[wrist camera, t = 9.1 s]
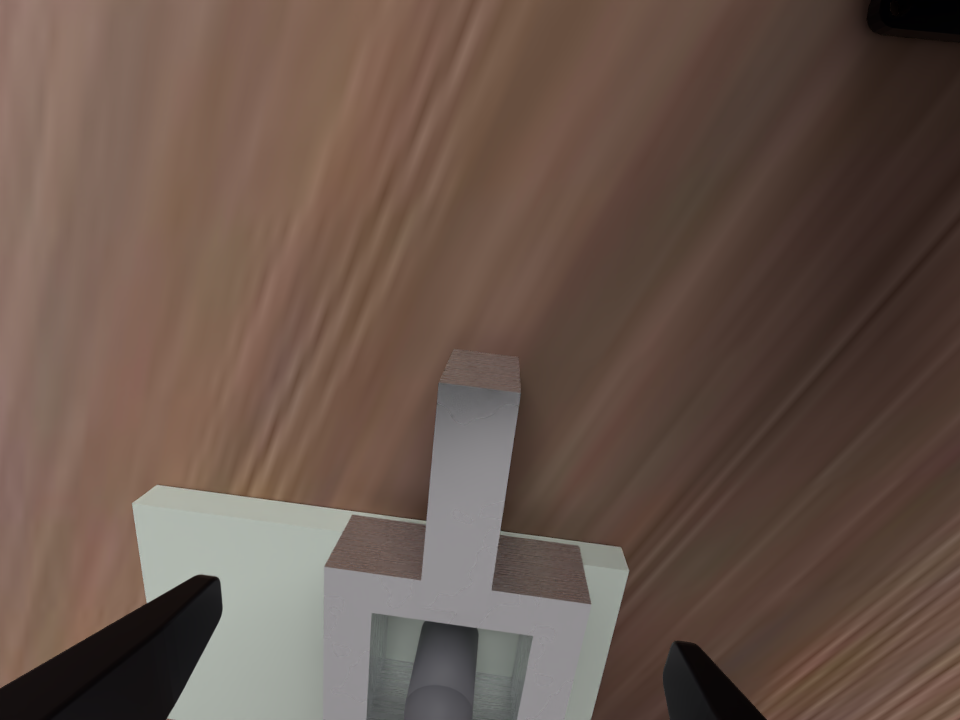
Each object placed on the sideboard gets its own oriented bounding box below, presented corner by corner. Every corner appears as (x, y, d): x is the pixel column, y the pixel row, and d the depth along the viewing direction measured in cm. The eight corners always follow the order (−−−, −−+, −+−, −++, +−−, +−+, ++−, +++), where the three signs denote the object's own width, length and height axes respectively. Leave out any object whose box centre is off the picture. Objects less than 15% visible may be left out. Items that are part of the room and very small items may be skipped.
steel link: (357, 336, 14) (317, 366, 11) (617, 369, 14) (645, 408, 11) (347, 680, 18) (316, 766, 15) (543, 710, 18) (549, 802, 15)
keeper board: (621, 546, 17) (666, 679, 12) (571, 748, 20) (590, 915, 15) (156, 484, 17) (19, 586, 13) (183, 690, 21) (81, 834, 16)
